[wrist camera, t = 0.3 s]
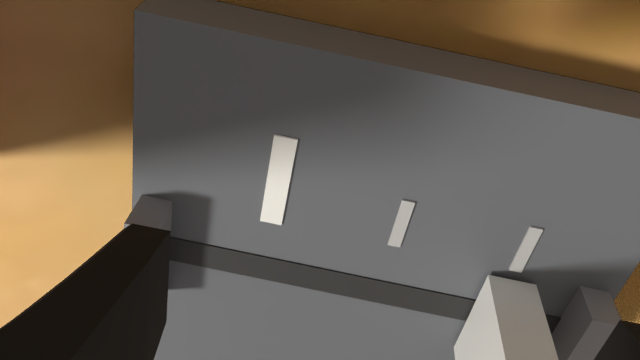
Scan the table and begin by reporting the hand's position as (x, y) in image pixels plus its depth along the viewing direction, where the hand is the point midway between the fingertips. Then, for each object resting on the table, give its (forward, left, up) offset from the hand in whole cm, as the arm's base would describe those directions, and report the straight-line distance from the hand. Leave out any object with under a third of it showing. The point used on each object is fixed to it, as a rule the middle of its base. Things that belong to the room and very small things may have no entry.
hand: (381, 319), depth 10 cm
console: (-7, -1, -10) cm, 12 cm away
